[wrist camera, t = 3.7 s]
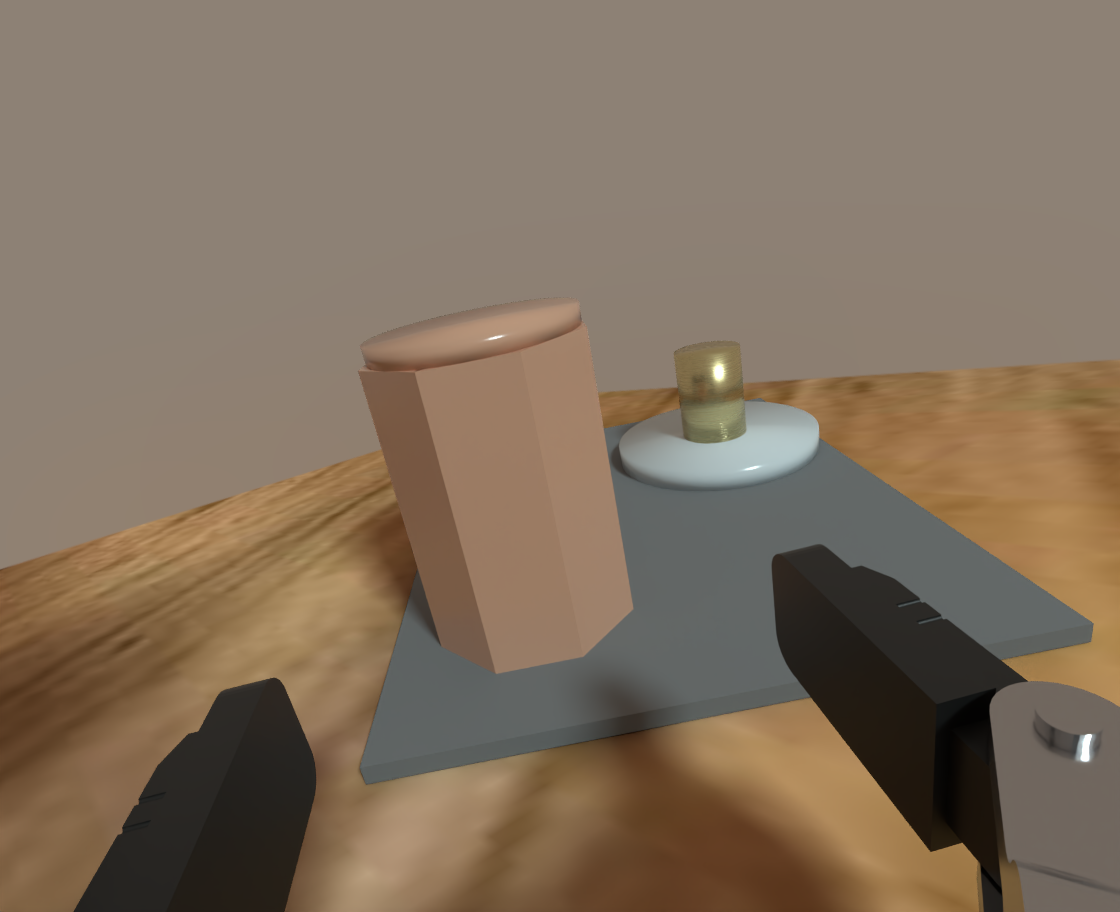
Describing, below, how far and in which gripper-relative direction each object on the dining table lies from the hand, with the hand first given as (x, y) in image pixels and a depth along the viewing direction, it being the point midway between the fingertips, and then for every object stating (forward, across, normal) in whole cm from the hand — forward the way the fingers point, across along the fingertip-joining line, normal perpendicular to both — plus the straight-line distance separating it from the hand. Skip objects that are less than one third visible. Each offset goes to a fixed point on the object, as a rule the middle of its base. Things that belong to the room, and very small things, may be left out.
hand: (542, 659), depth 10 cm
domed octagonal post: (+11, 0, +6) cm, 12 cm away
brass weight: (+21, -11, +5) cm, 24 cm away
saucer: (+21, -11, +6) cm, 24 cm away
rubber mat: (+16, -6, +7) cm, 19 cm away
